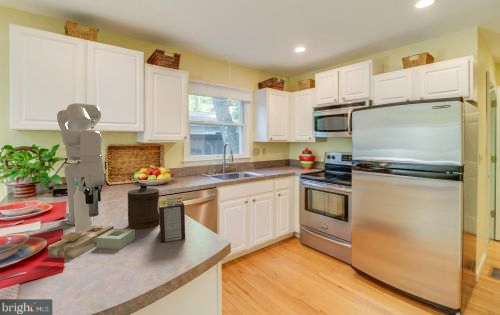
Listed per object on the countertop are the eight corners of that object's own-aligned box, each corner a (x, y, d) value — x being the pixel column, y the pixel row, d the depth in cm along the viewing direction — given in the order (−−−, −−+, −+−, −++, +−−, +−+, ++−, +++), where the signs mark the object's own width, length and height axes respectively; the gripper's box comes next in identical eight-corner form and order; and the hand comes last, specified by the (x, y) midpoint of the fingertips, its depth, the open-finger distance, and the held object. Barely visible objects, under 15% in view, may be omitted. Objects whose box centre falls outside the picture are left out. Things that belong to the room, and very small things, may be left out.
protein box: (182, 228, 121) (181, 197, 120) (185, 239, 107) (184, 204, 106) (159, 230, 118) (158, 198, 117) (160, 243, 103) (158, 207, 102)
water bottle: (74, 237, 110) (70, 182, 109) (76, 232, 117) (73, 180, 115) (92, 234, 114) (89, 180, 112) (94, 229, 120) (91, 178, 118)
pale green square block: (97, 250, 97) (96, 237, 97) (113, 239, 107) (113, 228, 107) (120, 251, 96) (120, 238, 96) (135, 240, 106) (134, 229, 106)
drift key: (61, 250, 92) (61, 236, 92) (71, 245, 96) (70, 232, 96) (72, 251, 91) (71, 237, 91) (82, 246, 96) (81, 232, 95)
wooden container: (166, 224, 127) (165, 182, 125) (139, 233, 114) (137, 187, 113) (148, 219, 135) (147, 180, 133) (122, 227, 122) (120, 184, 121)
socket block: (48, 259, 90) (47, 246, 89) (93, 236, 111) (92, 225, 111) (73, 260, 88) (72, 247, 88) (114, 237, 110) (113, 226, 110)
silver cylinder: (87, 216, 104) (85, 190, 103) (93, 213, 108) (92, 189, 107) (94, 216, 104) (93, 191, 103) (100, 214, 107) (99, 189, 106)
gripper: (97, 158, 112) (99, 197, 114) (66, 161, 96) (69, 207, 97) (112, 158, 111) (114, 198, 113) (84, 162, 95) (86, 208, 97)
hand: (93, 202), depth 105 cm, fingers closed on silver cylinder, 3 cm apart
